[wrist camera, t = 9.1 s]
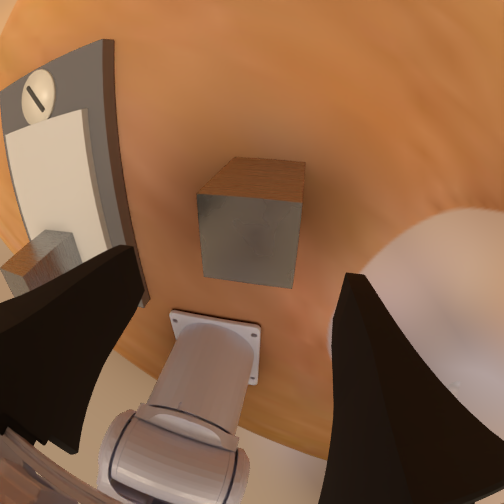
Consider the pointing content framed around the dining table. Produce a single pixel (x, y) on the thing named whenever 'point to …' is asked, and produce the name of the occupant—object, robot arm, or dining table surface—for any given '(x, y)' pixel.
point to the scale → (69, 151)
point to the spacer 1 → (41, 261)
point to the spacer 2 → (252, 221)
